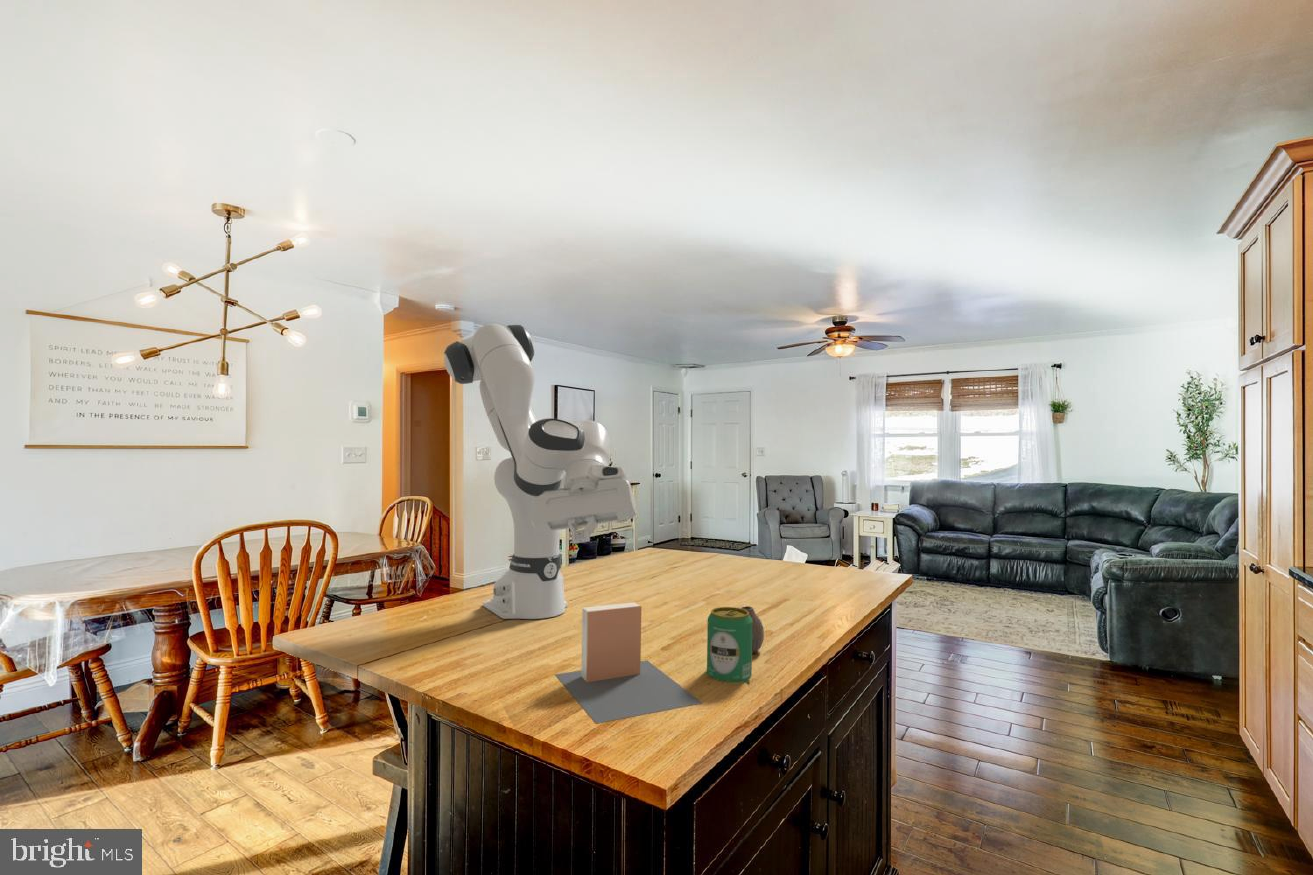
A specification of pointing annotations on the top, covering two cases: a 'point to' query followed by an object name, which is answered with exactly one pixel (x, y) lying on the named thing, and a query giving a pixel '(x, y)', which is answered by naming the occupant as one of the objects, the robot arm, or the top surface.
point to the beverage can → (729, 644)
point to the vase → (755, 629)
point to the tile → (611, 641)
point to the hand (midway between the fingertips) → (580, 540)
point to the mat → (627, 694)
